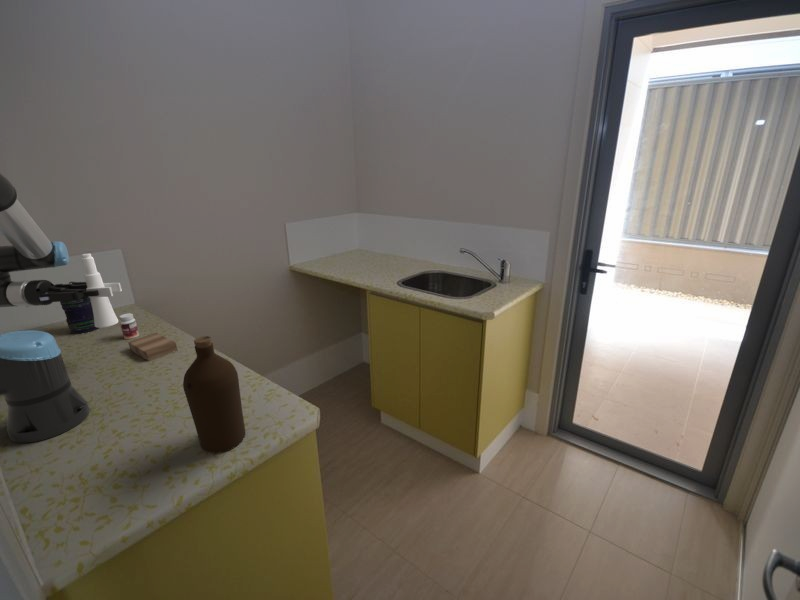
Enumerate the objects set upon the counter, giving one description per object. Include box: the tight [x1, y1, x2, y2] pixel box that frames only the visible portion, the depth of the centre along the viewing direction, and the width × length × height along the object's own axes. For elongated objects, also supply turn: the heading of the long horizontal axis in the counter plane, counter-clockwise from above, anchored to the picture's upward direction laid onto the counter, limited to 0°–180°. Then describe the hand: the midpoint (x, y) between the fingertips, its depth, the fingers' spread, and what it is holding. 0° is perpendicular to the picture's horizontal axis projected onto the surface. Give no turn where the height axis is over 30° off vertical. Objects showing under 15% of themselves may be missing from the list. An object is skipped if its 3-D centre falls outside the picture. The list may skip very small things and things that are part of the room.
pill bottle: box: [118, 312, 140, 340], centre depth 142 cm, size 5×5×8 cm
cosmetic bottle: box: [81, 253, 120, 329], centre depth 118 cm, size 6×6×22 cm
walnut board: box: [127, 332, 178, 362], centre depth 132 cm, size 14×9×3 cm, turn 54°
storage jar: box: [59, 297, 100, 335], centre depth 149 cm, size 10×10×15 cm
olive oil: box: [182, 335, 246, 454], centre depth 85 cm, size 11×11×25 cm
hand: (115, 289), depth 118 cm, fingers closed on cosmetic bottle, 4 cm apart
